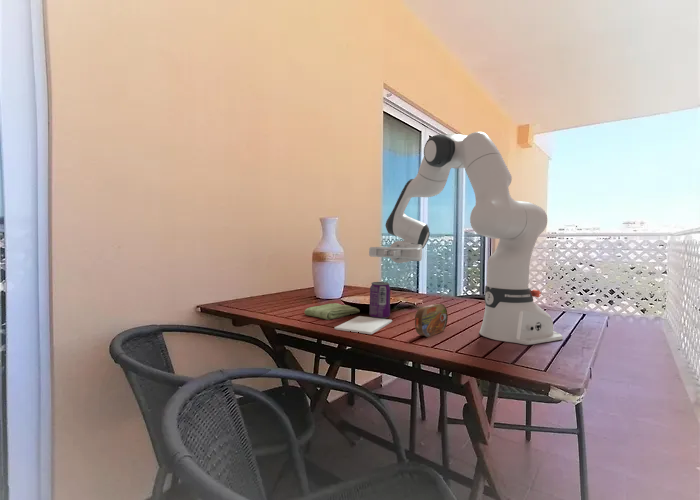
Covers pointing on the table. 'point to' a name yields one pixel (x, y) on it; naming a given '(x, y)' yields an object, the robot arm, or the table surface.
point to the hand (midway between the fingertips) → (388, 253)
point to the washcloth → (331, 311)
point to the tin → (431, 320)
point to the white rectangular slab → (363, 325)
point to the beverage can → (380, 300)
